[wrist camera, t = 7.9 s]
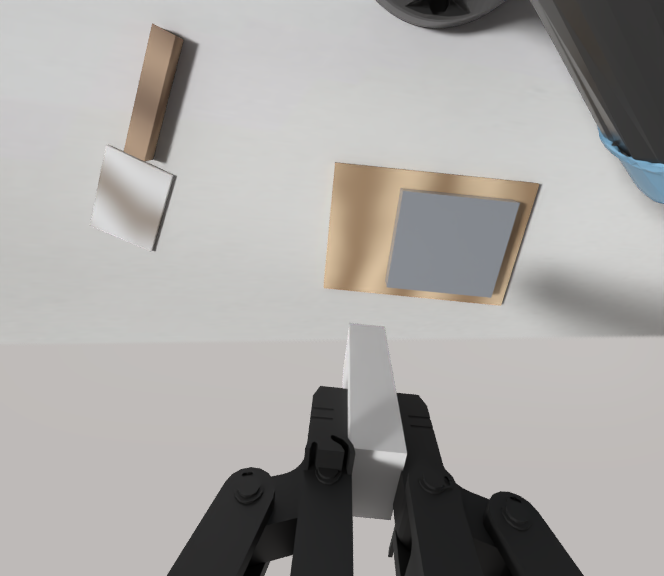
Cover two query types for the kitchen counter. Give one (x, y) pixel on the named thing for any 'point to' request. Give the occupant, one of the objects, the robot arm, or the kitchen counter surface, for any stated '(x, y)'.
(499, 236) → the tile
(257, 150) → the kitchen counter surface
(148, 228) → the turner
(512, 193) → the board
